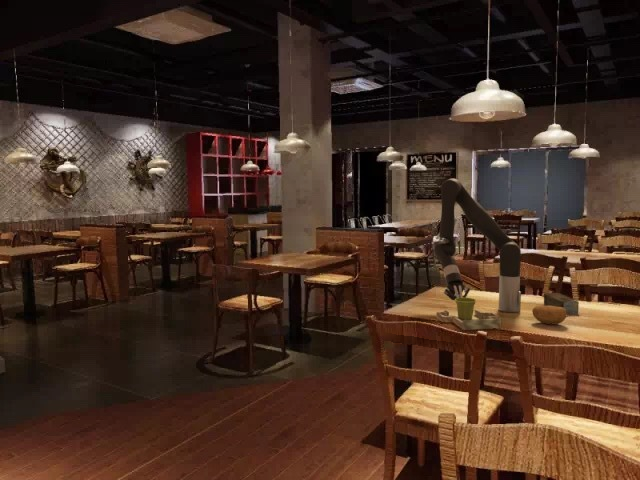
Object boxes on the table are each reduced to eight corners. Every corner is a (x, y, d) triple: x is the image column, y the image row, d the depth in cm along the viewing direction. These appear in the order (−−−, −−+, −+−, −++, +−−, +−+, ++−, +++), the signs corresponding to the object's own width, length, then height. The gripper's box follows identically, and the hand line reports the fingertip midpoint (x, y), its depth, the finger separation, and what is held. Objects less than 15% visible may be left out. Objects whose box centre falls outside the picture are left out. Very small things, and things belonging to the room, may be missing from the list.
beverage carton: (562, 314, 241) (563, 300, 241) (542, 304, 260) (543, 292, 260) (578, 313, 242) (579, 300, 241) (557, 304, 261) (558, 291, 260)
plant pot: (456, 320, 231) (456, 301, 230) (453, 315, 240) (453, 297, 239) (477, 321, 230) (477, 302, 229) (473, 315, 239) (474, 297, 238)
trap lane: (486, 314, 242) (486, 305, 241) (510, 327, 219) (510, 318, 218) (434, 316, 239) (434, 307, 238) (453, 330, 216) (453, 321, 215)
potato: (533, 319, 232) (533, 302, 231) (567, 323, 225) (567, 305, 225) (530, 324, 224) (530, 306, 223) (565, 328, 217) (566, 310, 216)
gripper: (441, 272, 246) (450, 303, 235) (467, 271, 247) (477, 302, 236) (437, 280, 251) (445, 311, 241) (463, 280, 253) (472, 310, 242)
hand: (461, 306), depth 239 cm, fingers closed
